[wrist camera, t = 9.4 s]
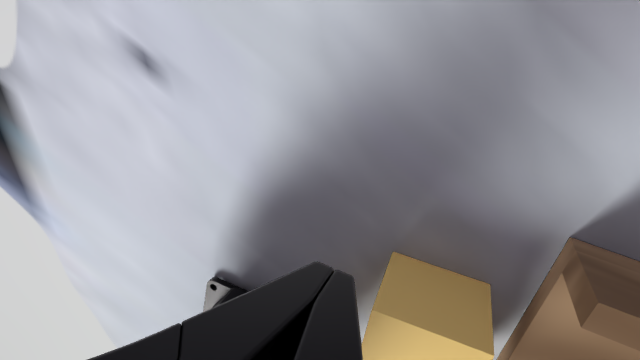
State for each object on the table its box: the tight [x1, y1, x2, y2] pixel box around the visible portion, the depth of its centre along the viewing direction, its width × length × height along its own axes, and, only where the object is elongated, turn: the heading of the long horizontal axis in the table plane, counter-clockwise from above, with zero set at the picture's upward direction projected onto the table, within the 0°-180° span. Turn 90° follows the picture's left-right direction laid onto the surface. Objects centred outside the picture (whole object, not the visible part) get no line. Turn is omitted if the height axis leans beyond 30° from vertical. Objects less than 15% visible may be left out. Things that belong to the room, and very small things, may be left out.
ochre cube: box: [362, 252, 494, 360], centre depth 20 cm, size 5×5×5 cm
